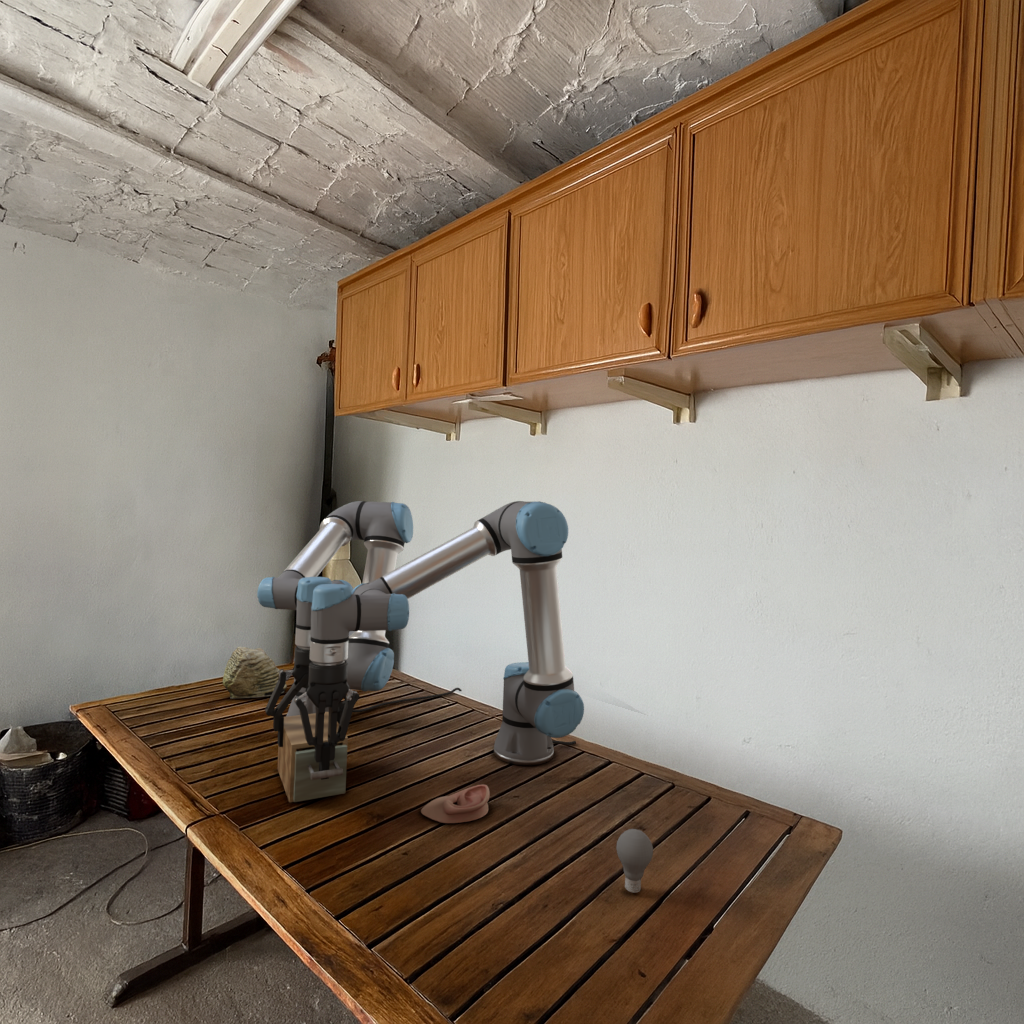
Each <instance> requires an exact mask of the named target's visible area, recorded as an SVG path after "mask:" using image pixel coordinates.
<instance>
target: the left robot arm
mask: <svg viewBox="0 0 1024 1024" xmlns="http://www.w3.org/2000/svg"><path fill="white" fill-rule="evenodd" d="M413 537H414V519H413V515H412V512H411V509H410V507H409V506H408V505H407V504H405V503H401V502H395V501H388V502H387V501H369V500H367V501H366V500H356V501H352V502H349V503H346V504H343V505H342V506H340V507H338V508H336V509H334V510H333V511H332V512H330V513H329V514H328V515H327V516H326V517H324V519H323V520H322V521H321V522H320V525H319V530H318V531H317V532H316V534H315V535H314V536H313V537H311V539H310V540H309V542H307V544H306V545H305V546H304V547H303V548H302V549H301V551H299V552H298V554H297V555H296V556H295V557H294V559H293V560H292V561H291V562H290V563H289V564H288V566H287V567H286V568H285V569H284V570H283V571H282V572H281V573H280V574H279V576H276V577H275V576H271V577H269V576H268V577H265V578H263V579H261V581H260V583H259V585H258V587H257V594H256V595H257V600H258V603H259V605H260V606H262V607H263V608H267V609H275V610H289V611H296V617H295V618H296V619H295V620H296V621H295V622H296V623H295V640H294V644H295V645H296V647H295V648H294V659H293V662H294V663H293V667H292V669H287V670H285V669H283V668H281V669H279V670H280V671H279V679H278V682H277V684H276V686H275V688H274V691H273V693H272V695H271V696H269V697H270V698H269V699H268V702H267V705H266V707H265V709H264V711H265V714H266V716H267V717H269V716H270V717H273V720H272V721H273V723H272V728H273V731H274V732H277V745H279V747H283V729H284V717H288V716H297V715H300V711H299V708H298V707H297V705H296V703H295V702H294V698H295V697H296V696H301V695H302V694H303V693H305V690H306V688H307V686H308V682H309V664H310V663H311V662H312V661H311V660H310V659H309V658H310V639H311V607H312V599H313V591H314V589H315V587H317V586H319V585H322V584H344V585H348V586H349V587H350V588H351V592H352V590H353V589H354V588H353V585H352V584H351V583H350V582H348V581H347V580H344V579H333V580H331V578H329V577H326V576H319V575H320V574H321V572H323V570H324V569H325V568H326V567H327V565H328V564H329V562H330V561H331V560H332V559H333V557H335V555H336V554H337V553H338V551H339V550H340V548H341V547H345V546H346V545H348V544H349V543H350V542H351V541H356V540H357V541H363V545H364V547H365V549H367V554H366V560H365V567H364V572H363V577H362V582H361V584H363V583H371V582H372V581H374V580H376V579H378V578H380V577H382V576H384V575H386V574H387V573H389V572H391V571H393V570H395V569H396V567H397V561H398V555H399V554H400V553H401V552H403V551H404V548H405V544H408V543H411V542H412V540H413ZM386 632H387V630H380V631H353V632H352V633H351V634H349V640H348V659H347V660H345V661H346V662H347V663H348V669H347V683H348V685H349V689H351V690H353V691H362V692H379V691H381V690H382V689H384V687H385V686H386V685H387V684H388V682H389V680H390V677H391V675H392V673H393V670H394V663H395V652H394V650H393V649H391V648H390V641H389V639H387V637H386ZM290 677H293V683H292V685H291V686H290V688H289V690H288V691H287V692H286V693H285V695H284V696H283V697H282V698H281V700H280V702H279V699H280V697H281V694H282V693H281V692H282V690H283V688H284V686H285V682H286V683H287V681H289V680H290ZM456 691H458V692H462V691H463V690H462V689H461V688H460V687H454V688H453V689H451V690H450V691H446V692H443V693H438V694H432V695H426V696H425V695H424V696H417V697H410V698H402V699H396V700H390V701H386V702H381V703H378V704H377V703H376V704H374V705H372V706H369V707H366V708H360V709H353V712H352V713H363V712H367V711H371V710H373V709H377V708H379V707H382V706H387V705H392V704H398V703H404V702H411V701H420V700H426V699H433V698H439V697H440V698H441V697H445V696H449V695H452V694H453V693H455V692H456ZM346 695H347V694H346ZM346 695H345V697H344V698H343V700H342V701H341V702H340V703H339V705H338V712H337V722H338V724H340V720H341V717H342V713H343V709H344V706H345V702H346V700H347V699H346ZM307 701H308V704H307V705H306V708H307V711H308V714H314V713H316V706H315V705H314V704H313V702H312V701H311V700H310V698H308V699H307ZM278 702H279V703H278ZM288 706H289V708H288ZM287 708H288V711H287V713H286V715H285V716H284V714H283V713H284V712H285V710H286V709H287ZM325 712H329V708H328V707H327V708H325Z"/></svg>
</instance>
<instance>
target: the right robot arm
mask: <svg viewBox="0 0 1024 1024" xmlns="http://www.w3.org/2000/svg"><path fill="white" fill-rule="evenodd" d="M568 538H569V525H568V520H567V519H566V517H565V515H564V513H563V512H562V511H561V510H560V509H559V508H557V507H556V506H555V505H553V504H551V503H547V502H543V501H541V500H540V501H535V500H534V501H523V500H517V501H512V502H509V503H506V504H504V505H502V506H500V507H498V508H497V509H495V510H493V511H492V512H490V513H488V514H486V515H484V516H483V517H481V518H480V519H477V520H476V521H474V523H473V527H471V528H469V529H468V530H466V531H464V532H462V533H460V534H458V535H456V536H455V537H453V538H451V539H449V540H447V541H446V542H444V543H442V544H440V545H438V546H436V547H434V548H432V549H430V550H429V551H426V552H425V553H422V554H420V556H417V557H415V558H414V559H412V560H410V561H408V562H406V563H405V564H402V565H401V566H399V567H397V568H395V570H393V571H391V572H389V573H387V574H386V575H384V576H382V577H380V578H378V579H376V580H374V581H372V582H371V583H363V584H362V583H360V584H358V585H356V586H355V587H354V588H353V590H352V592H351V588H350V587H349V586H348V585H344V584H322V585H319V586H317V587H315V589H314V591H313V599H312V607H311V639H310V658H309V659H310V660H311V661H312V662H311V663H310V664H309V682H308V686H307V688H306V690H305V693H303V694H302V695H301V696H296V697H295V698H294V702H295V703H296V705H297V707H298V708H299V711H300V715H301V720H302V725H303V729H304V734H305V738H306V741H307V743H308V745H310V746H311V745H314V746H315V755H314V758H315V760H316V762H319V771H325V770H329V767H330V760H334V758H335V746H336V745H337V743H338V742H339V741H344V740H345V737H346V735H347V733H348V729H349V726H350V723H351V719H352V715H353V713H354V712H353V710H354V708H355V705H356V704H357V702H358V701H359V699H360V696H361V695H360V694H359V693H358V692H357V690H353V689H349V685H348V683H347V669H348V663H347V662H346V661H345V660H347V659H348V640H349V636H350V633H351V632H354V631H380V630H386V631H388V632H392V631H396V630H404V629H405V628H406V627H407V625H408V624H409V619H410V603H409V599H410V598H413V597H414V596H416V595H418V594H420V593H422V592H423V591H426V590H427V589H429V588H430V587H432V586H435V585H436V584H438V583H440V582H442V581H443V580H445V579H447V578H448V577H451V576H453V575H454V574H457V573H458V572H460V571H461V570H463V569H465V568H467V567H468V566H470V565H472V564H474V563H476V562H477V561H479V560H481V559H483V558H485V557H487V556H491V557H495V556H497V555H499V554H501V553H503V552H506V551H510V553H511V563H512V564H513V565H514V566H515V567H517V568H518V570H519V578H520V587H521V588H520V589H521V598H522V599H521V600H522V609H523V619H524V630H525V639H526V640H525V641H526V652H527V661H523V662H522V661H521V662H513V663H509V664H507V665H506V666H505V668H504V674H503V678H502V680H503V690H502V693H503V694H502V716H501V718H502V719H501V725H500V727H499V729H498V733H497V735H496V738H495V740H494V745H493V755H494V756H495V757H496V758H497V759H498V760H500V761H502V762H504V763H507V764H511V765H517V766H537V765H543V764H546V763H548V762H550V761H551V760H552V759H553V758H554V753H555V750H554V745H563V746H573V745H576V744H577V741H576V740H573V741H563V740H552V738H555V739H561V738H564V737H566V736H569V735H570V734H572V733H573V732H574V731H576V729H577V727H578V726H579V725H580V724H581V722H582V720H583V717H584V713H585V704H584V703H585V702H584V701H583V698H582V697H581V695H580V694H579V693H578V692H577V691H576V690H575V683H574V682H575V681H574V673H573V671H572V670H571V669H570V668H568V666H566V656H565V645H564V635H563V634H564V633H563V621H562V612H561V601H560V590H559V579H558V578H559V577H558V565H559V564H560V562H561V561H562V560H563V548H564V547H565V544H566V543H567V542H568ZM346 694H347V695H346ZM345 695H346V699H347V700H346V702H345V706H344V709H343V713H342V717H341V720H340V724H339V727H338V731H337V712H338V705H339V703H340V702H343V700H344V697H345ZM308 698H310V700H311V701H312V702H313V704H314V705H315V706H316V720H315V737H313V735H312V730H311V725H310V721H309V716H308V711H307V708H306V705H307V704H308V701H307V699H308ZM327 707H328V708H329V716H328V742H323V734H324V714H325V708H327ZM336 733H337V734H336ZM323 779H329V777H327V778H321V780H323Z"/></svg>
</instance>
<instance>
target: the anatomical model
mask: <svg viewBox="0 0 1024 1024" xmlns="http://www.w3.org/2000/svg"><path fill="white" fill-rule="evenodd" d="M490 795H491V792H490V788H489V786H488V785H487V784H477V785H473V786H470V787H468V788H464V789H462V790H460V791H457V792H455V793H452V794H450V795H445V796H440V797H437V798H435V799H433V800H431V801H430V802H428V803H426V804H425V805H424V806H423V807H422V808H421V809H420V813H421V814H422V815H423V816H425V817H426V818H428V819H430V820H433V821H435V822H439V823H441V824H458V823H459V824H460V823H467V822H471V821H476V820H478V819H482V818H483V817H485V816H486V815H487V814H488V813H489V804H488V802H489V800H490V797H491V796H490Z"/></svg>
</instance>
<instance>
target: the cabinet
mask: <svg viewBox="0 0 1024 1024" xmlns="http://www.w3.org/2000/svg"><path fill="white" fill-rule="evenodd" d="M308 716H309V721H310V725H311V730H312V735H313V737H315V720H316V713H314V714H308ZM328 716H329V712H325V714H324V734H323V742H328ZM338 727H339V724H338V722H337V731H338ZM336 734H337V733H336ZM348 742H349V737H348V735H347V734H346V737H345V740H344V741H339V742H338V743H340V745H347V746H348V745H349V743H348ZM277 745H278V744H277ZM277 747H278V748H277V772H278V775H279V777H280V780H281V784H282V786H283V789H284V791H285V792H284V793H285V795H286V796H287V801H288V803H290V804H291V803H295V802H294V800H293V798H294V773H295V752H296V749H301V748H308V747H315V746H314V745H311V746H310V745H308V743H307V741H306V738H305V734H304V729H303V725H302V720H301V715H297V716H288V717H286V716H284V729H283V747H279V745H278V746H277ZM347 768H348V766H347V767H346V769H347ZM346 792H347V790H346V791H345V793H346Z"/></svg>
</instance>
